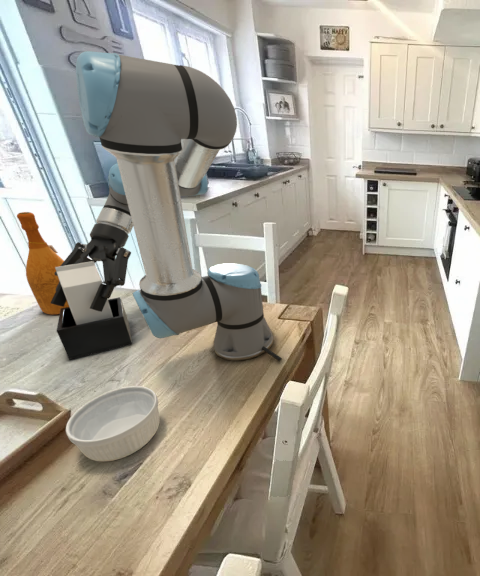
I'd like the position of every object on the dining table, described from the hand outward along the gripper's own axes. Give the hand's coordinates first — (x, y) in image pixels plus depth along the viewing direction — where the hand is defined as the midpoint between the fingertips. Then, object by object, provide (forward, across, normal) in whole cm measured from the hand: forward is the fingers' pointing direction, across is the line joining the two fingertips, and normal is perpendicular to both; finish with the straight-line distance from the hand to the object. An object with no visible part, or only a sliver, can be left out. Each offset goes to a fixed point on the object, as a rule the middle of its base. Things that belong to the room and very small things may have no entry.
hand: (76, 307), depth 80 cm
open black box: (+6, 0, -10) cm, 12 cm away
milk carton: (+4, 0, -8) cm, 9 cm away
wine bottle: (-2, +25, -19) cm, 31 cm away
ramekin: (+25, -30, +8) cm, 40 cm away
